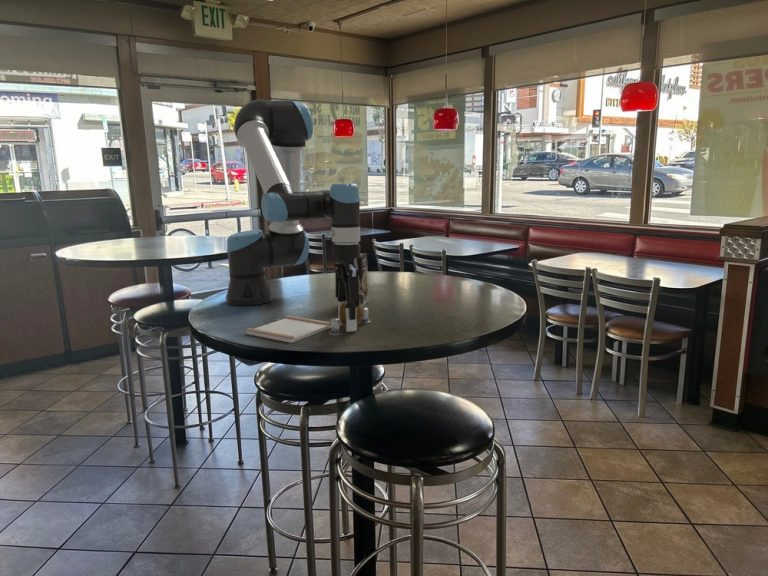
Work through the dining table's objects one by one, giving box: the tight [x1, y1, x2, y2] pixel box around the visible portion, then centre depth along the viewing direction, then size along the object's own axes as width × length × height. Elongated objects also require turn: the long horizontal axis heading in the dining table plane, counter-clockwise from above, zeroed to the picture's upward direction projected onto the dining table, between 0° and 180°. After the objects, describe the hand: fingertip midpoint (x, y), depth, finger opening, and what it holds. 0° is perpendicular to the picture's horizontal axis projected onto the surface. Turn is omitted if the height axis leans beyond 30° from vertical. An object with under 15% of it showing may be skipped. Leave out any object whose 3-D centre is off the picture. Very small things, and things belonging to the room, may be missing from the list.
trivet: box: [246, 315, 331, 344], centre depth 149 cm, size 16×16×1 cm
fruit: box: [340, 301, 362, 327], centre depth 150 cm, size 6×6×8 cm
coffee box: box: [354, 252, 369, 308], centre depth 176 cm, size 9×6×16 cm
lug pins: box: [328, 307, 372, 337], centre depth 150 cm, size 4×17×4 cm, turn 146°
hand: (347, 327), depth 150 cm, fingers closed on fruit, 6 cm apart
